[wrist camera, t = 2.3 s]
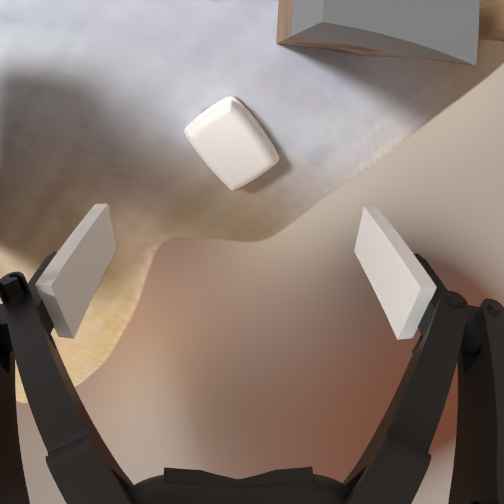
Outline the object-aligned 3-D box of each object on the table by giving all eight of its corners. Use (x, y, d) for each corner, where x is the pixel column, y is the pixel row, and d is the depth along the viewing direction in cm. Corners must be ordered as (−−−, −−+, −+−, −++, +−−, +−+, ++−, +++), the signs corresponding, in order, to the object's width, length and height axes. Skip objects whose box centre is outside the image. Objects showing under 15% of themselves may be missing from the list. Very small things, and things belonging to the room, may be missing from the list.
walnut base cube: (276, 43, 26) (290, 36, 19) (280, -35, 21) (295, -65, 14) (363, 55, 27) (404, 57, 19) (367, -19, 22) (408, -38, 14)
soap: (283, 157, 33) (287, 166, 31) (231, 191, 35) (231, 202, 33) (233, 89, 29) (233, 92, 27) (180, 129, 31) (175, 135, 29)
